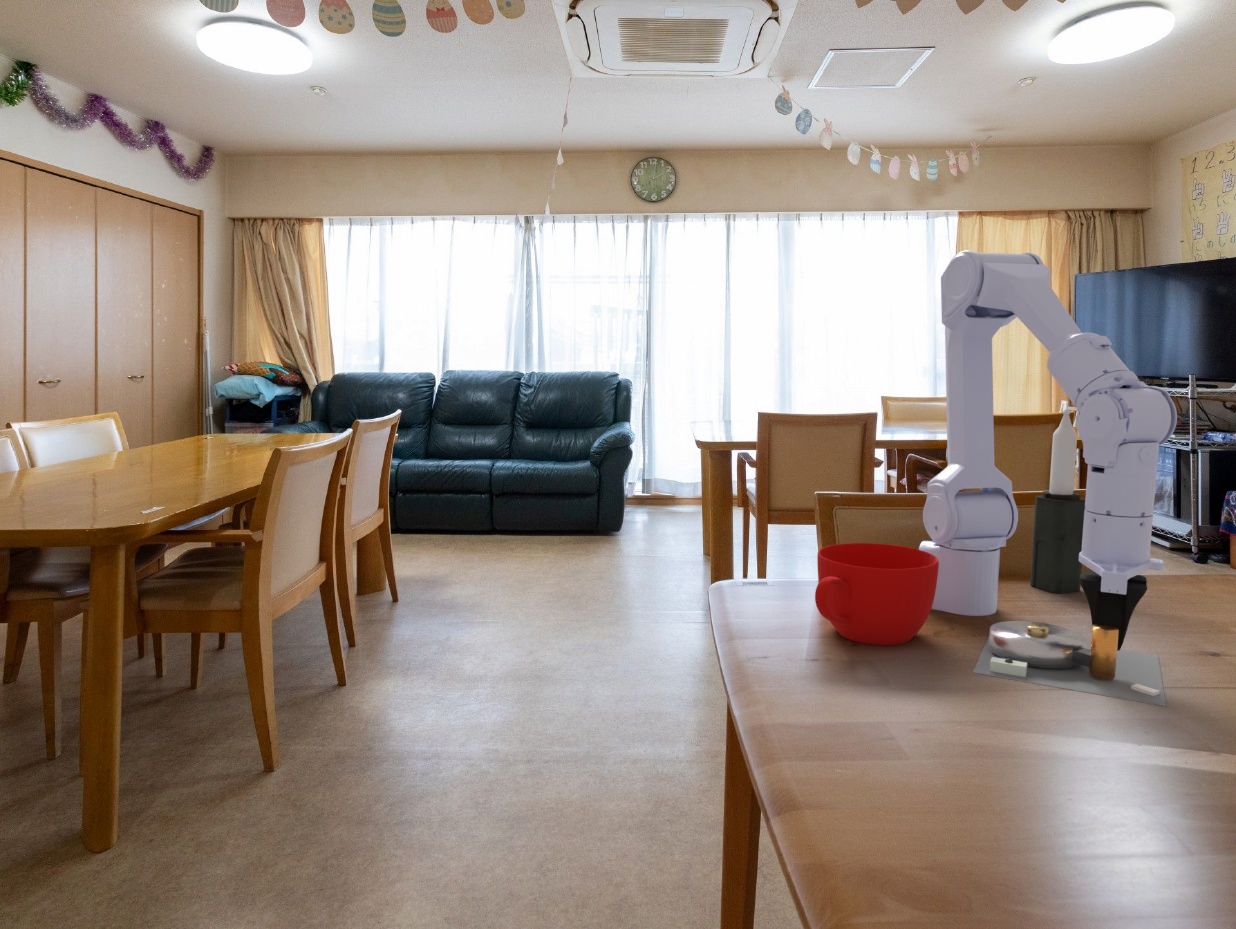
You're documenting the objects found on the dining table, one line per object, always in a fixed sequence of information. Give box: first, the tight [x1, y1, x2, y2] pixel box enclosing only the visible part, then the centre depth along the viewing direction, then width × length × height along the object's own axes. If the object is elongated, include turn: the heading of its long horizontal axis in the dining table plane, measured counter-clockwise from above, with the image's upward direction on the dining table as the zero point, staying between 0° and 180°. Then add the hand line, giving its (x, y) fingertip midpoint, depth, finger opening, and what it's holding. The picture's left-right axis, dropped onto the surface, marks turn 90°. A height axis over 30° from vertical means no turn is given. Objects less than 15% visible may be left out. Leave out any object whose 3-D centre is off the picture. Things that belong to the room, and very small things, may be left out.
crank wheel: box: [988, 620, 1119, 679], centre depth 85 cm, size 13×9×5 cm
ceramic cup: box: [814, 542, 939, 646], centre depth 93 cm, size 13×17×10 cm
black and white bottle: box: [1029, 408, 1086, 594], centre depth 116 cm, size 5×5×25 cm
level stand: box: [972, 634, 1167, 707], centre depth 85 cm, size 16×15×2 cm
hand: (1107, 647), depth 83 cm, fingers closed
